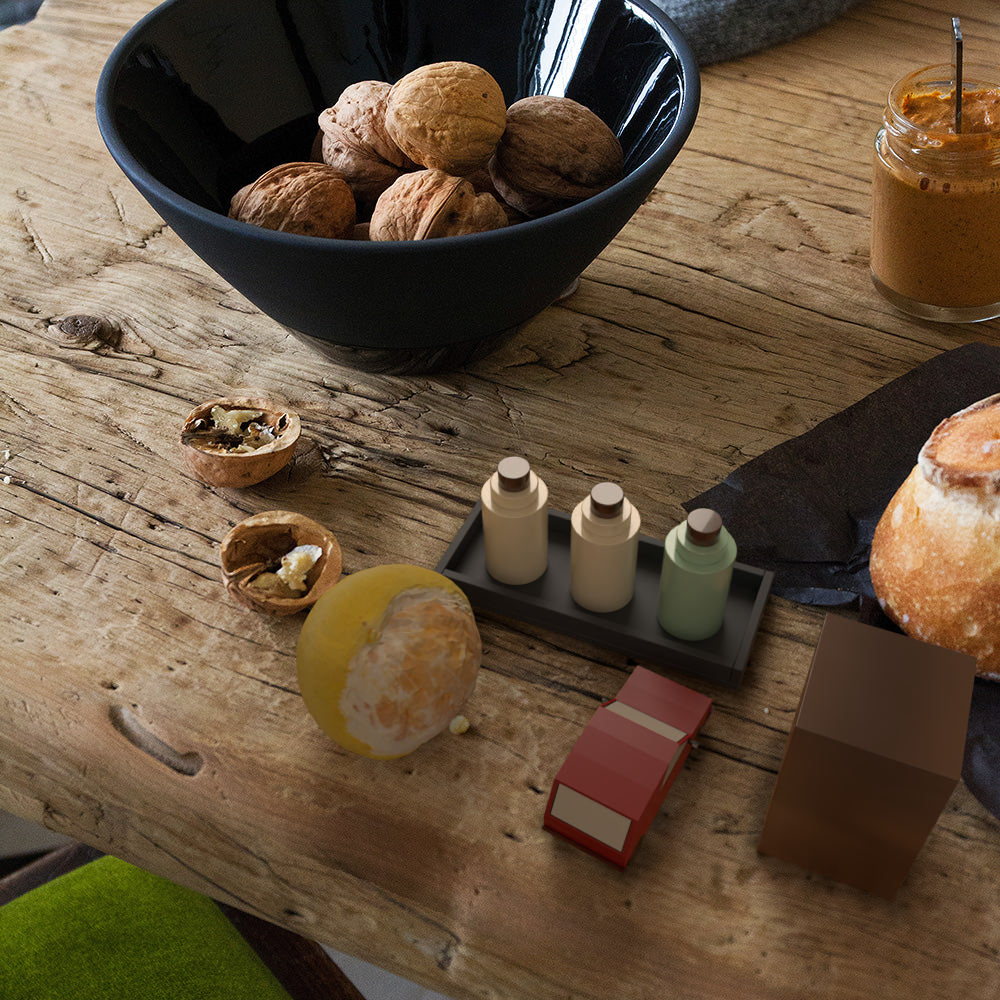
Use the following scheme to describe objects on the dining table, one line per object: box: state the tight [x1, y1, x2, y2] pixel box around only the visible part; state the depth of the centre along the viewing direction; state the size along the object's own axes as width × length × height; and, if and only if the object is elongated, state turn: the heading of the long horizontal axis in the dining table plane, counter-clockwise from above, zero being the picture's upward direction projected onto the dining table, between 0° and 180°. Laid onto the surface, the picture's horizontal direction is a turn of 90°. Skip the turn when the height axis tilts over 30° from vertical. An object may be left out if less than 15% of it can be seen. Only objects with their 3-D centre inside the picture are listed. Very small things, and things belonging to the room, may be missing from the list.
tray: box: [433, 496, 776, 692], centre depth 66 cm, size 20×8×2 cm, turn 66°
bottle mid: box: [569, 481, 642, 613], centre depth 64 cm, size 4×4×9 cm
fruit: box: [295, 563, 483, 761], centre depth 58 cm, size 10×11×10 cm
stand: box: [755, 612, 978, 902], centre depth 51 cm, size 7×7×12 cm
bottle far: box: [480, 456, 549, 585], centre depth 65 cm, size 4×4×9 cm
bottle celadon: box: [656, 507, 738, 641], centre depth 62 cm, size 4×4×9 cm
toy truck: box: [541, 665, 716, 874], centre depth 56 cm, size 6×12×5 cm, turn 149°
